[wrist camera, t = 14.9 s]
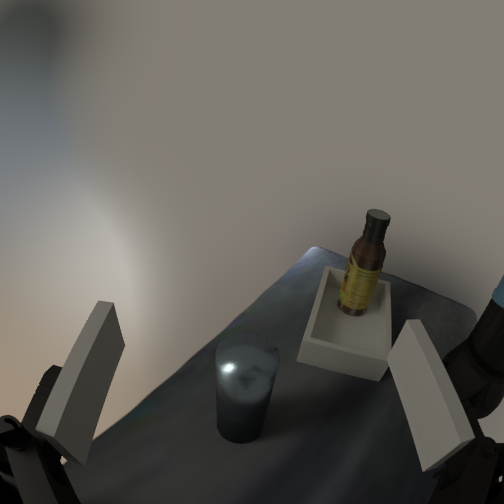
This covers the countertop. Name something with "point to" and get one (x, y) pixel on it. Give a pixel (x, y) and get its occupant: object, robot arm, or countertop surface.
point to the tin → (244, 385)
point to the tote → (348, 331)
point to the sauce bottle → (364, 265)
